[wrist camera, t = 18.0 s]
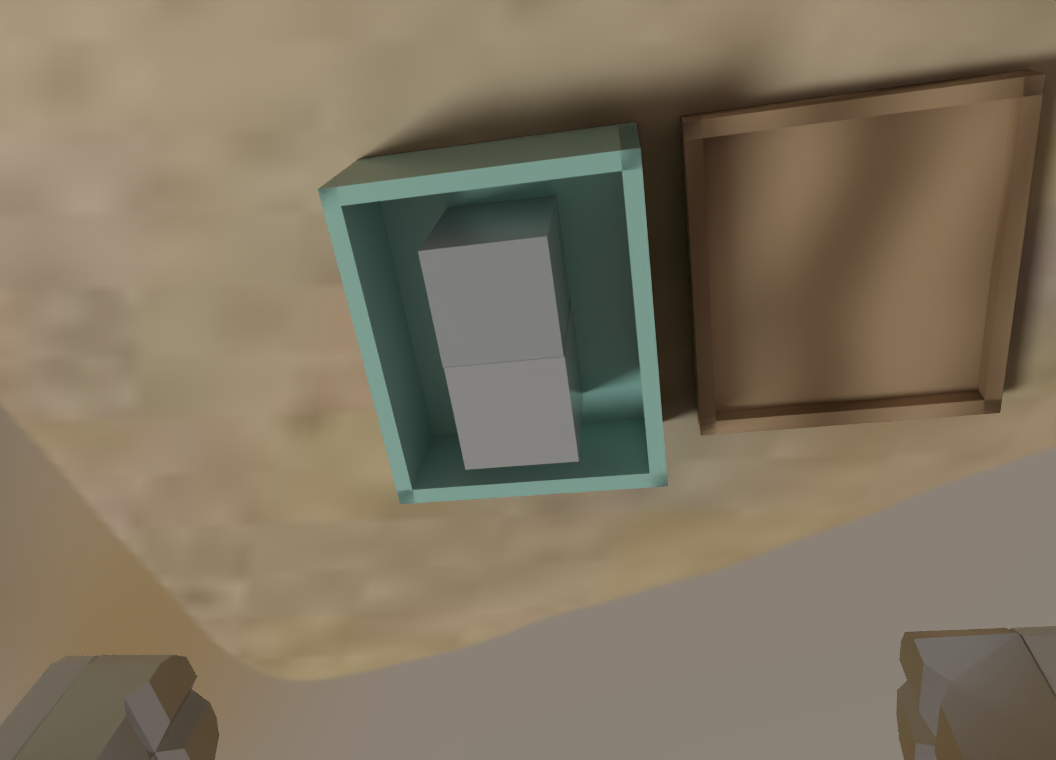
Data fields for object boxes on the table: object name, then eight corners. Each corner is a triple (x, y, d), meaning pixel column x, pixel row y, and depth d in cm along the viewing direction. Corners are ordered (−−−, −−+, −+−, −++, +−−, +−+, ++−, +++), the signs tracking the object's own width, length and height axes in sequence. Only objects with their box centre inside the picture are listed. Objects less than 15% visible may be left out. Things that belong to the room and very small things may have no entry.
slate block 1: (556, 194, 28) (547, 236, 24) (570, 299, 30) (563, 356, 26) (447, 208, 29) (417, 251, 24) (467, 310, 31) (443, 367, 26)
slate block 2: (571, 299, 30) (564, 356, 26) (583, 393, 32) (578, 461, 27) (467, 310, 31) (443, 367, 26) (485, 401, 32) (465, 469, 28)
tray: (1027, 69, 26) (1045, 73, 25) (986, 397, 31) (1000, 412, 30) (680, 115, 27) (683, 121, 26) (697, 420, 32) (700, 435, 31)
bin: (635, 122, 27) (640, 147, 23) (660, 423, 33) (667, 485, 29) (358, 159, 29) (317, 189, 25) (424, 441, 34) (400, 504, 30)
